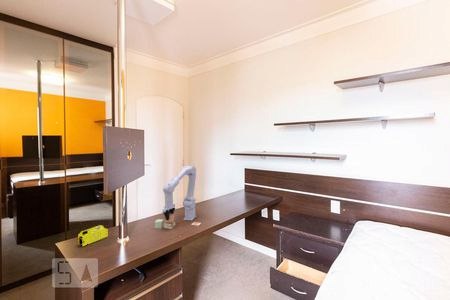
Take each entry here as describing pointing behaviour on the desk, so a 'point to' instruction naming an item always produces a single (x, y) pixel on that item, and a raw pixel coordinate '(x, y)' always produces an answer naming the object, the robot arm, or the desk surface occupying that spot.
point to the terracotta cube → (170, 218)
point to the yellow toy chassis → (92, 235)
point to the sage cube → (159, 223)
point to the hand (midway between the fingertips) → (169, 218)
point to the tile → (196, 223)
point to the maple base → (169, 225)
